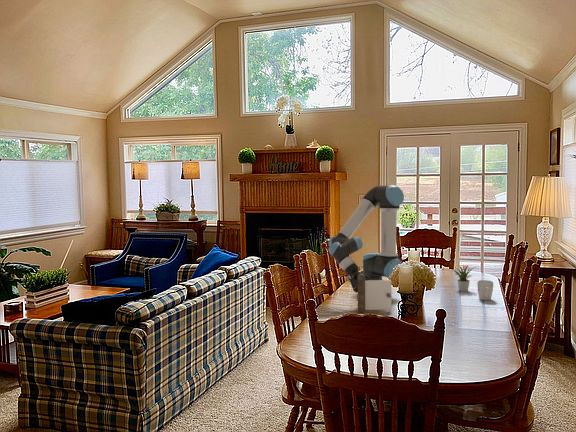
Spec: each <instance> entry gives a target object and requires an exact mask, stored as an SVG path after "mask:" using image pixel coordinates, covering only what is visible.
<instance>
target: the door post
mask: <svg viewBox="0 0 576 432" xmlns="http://www.w3.org/2000/svg"><path fill="white" fill-rule="evenodd" d="M359 313H362V314H361V315H364V314H366V310H365V275H363V274H359V275H358V292H357V314H359Z"/></svg>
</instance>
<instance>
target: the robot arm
mask: <svg viewBox="0 0 576 432" xmlns="http://www.w3.org/2000/svg"><path fill="white" fill-rule="evenodd" d="M404 194H405V193H404V191H403V190H402V189H401V188H400V186H398V185H393V184H390V185H389V184H388V185H387V184H385V185H382V184H379V185H376V186H373V187H371V189H369V190H368V191H367V192H366V193H365V194H364V195H363V197H362V198H361V199H360V203H359V205H358V206H357V208H355V210H354V211H353V212H352V214H351V215H350V217H349V218H348V219H347V220H346V222H345V223H344V225H343V226H342V227H341V229H340V230H339V231H338V233H336V236H331V237H329V240H328V246H329V247H328V252H329V254H330V255H331V256H332V258H333V259H334V260H335V262H336V263H337V264H338V265H339V267H340V268H341V269H342V270H343V271H344V273H345V274H346V275H347V276H346V277H347V279H348V280H349V283H350V286H351V288H352V291H353V292H354V293H357V294H358V275H359V274H363V275H365V281H368V280H383V277H385V278H388V277H389V275H390V274H391V273H392V271H393V268H394V267H395V266H396V265H398V264H402V265H403V263H402V261H401V260H400V259H399V254H398V253H397V222H398V221H397V214H398V213H397V212H398V211H399V210H400V206H402V204H403V202H404V198H405V195H404ZM377 206H379V207H378V208H379V210H381V229H380V230H381V232H380V233H381V234H380V235H381V237H380V238H381V239H380V244H381V245H380V252H375V253H374V252H373V253H370V252H369V253H365V254H364V255H363V256H362V270H361V271H359V268H360V267H359V266H358V265H357V264H356V263H355V261H354V260H353V258H352V257H351V256H350V255H352V254H354V253H355V252H358V251H359V250H361V249H362V248H363V241H362V239H361V238H360V237H359V236H354V237H353V235H354V234H355V233H356V232H357V230H358V228H359V227H360V226H361V224H362V223H363V222H364V220H365V219H366V218H367V216H368V215H369V214H370V213H371V212H372V211H373V210H375V209H376V207H377ZM388 279H389V278H388Z"/></svg>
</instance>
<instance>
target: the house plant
mask: <svg viewBox="0 0 576 432" xmlns="http://www.w3.org/2000/svg"><path fill="white" fill-rule="evenodd" d="M462 266H463V268H462V267H461V265H457V267H458V268H459V269H458V268H457V267H456V266H454V268H455V269H453V271H454V272H455V273H454V274H455V275H456V276H457V277H458V278H459V279H457V285H458V286H457V287H458V291H459V292H468V291H469V288H470V287H469V286H470V280H469V278H473V277H474V275H473V274H469V273H471V271H472V270H473V269H476V266H474V267H470V266H469V265H466V266H465V265H464V264H463V265H462Z"/></svg>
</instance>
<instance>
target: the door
mask: <svg viewBox="0 0 576 432" xmlns="http://www.w3.org/2000/svg"><path fill="white" fill-rule="evenodd" d="M369 310H370V311H372V310H377V311H379V310H392V280H391V279H382V280H368V281H365V311H369Z"/></svg>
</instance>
